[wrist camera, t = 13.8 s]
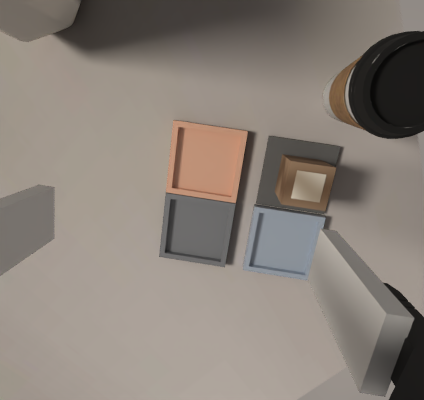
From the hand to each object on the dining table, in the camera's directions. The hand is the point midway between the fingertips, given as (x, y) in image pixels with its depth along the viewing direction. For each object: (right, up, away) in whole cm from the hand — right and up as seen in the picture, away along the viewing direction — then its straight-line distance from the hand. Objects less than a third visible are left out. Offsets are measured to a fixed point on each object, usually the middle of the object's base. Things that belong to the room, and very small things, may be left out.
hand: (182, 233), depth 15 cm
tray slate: (+11, -4, +28) cm, 31 cm away
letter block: (+12, +5, +25) cm, 28 cm away
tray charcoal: (-1, -2, +28) cm, 29 cm away
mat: (+12, +5, +26) cm, 29 cm away
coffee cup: (+18, +14, +23) cm, 32 cm away
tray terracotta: (+1, +7, +26) cm, 27 cm away
